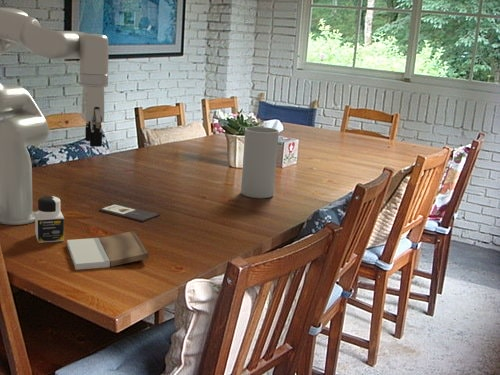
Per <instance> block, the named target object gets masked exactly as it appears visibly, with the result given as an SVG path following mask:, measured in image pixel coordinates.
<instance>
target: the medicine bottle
mask: <svg viewBox="0 0 500 375" xmlns="http://www.w3.org/2000/svg"><path fill="white" fill-rule="evenodd" d="M34 212H35V221H34V224H35V226H34V227H35V228H34V229H35V233H34V234H35V237H36V240H37V243H40V244H42V243H54V242H64V241H65V217H64V215H63V213H62V211H61V199H60V198H59V197H57V196H54V195H47V196H43V197H40V198H39V199H38V200H37V211H34Z"/></svg>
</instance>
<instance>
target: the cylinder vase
mask: <svg viewBox="0 0 500 375" xmlns="http://www.w3.org/2000/svg"><path fill="white" fill-rule="evenodd" d="M279 132H280V131H279V129H276V128H273V127H268V126H267V127H266V126H265V127H264V126H248V127H247V126H246V127H245V128H244V139H243V141H244V142H243V156H242V169H241V183H240V193H241V195H243V196H244V197H247V198H251V199H260V200H261V199H268V198H271V197H273V196H274V193H275V192H274V191H275V182H276V169H277V159H278V158H277V156H278V147H279V146H278V143H279Z"/></svg>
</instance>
